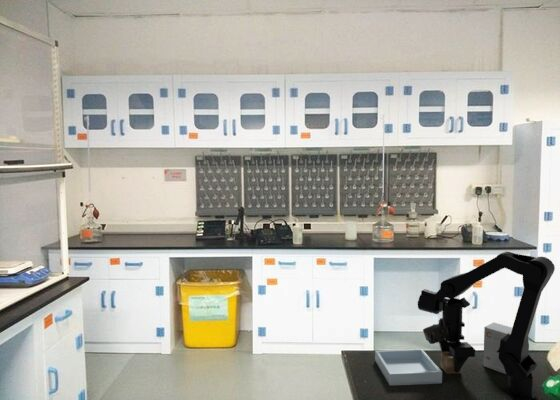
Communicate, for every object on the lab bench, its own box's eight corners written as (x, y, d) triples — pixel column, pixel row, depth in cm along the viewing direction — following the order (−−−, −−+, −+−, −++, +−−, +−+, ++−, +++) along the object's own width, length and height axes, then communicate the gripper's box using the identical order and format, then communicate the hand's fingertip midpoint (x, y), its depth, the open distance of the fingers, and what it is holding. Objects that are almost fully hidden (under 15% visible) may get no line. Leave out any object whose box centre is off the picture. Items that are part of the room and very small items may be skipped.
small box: (517, 369, 138) (519, 329, 136) (508, 375, 134) (510, 334, 132) (491, 360, 144) (493, 321, 143) (482, 366, 140) (483, 326, 139)
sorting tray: (441, 383, 130) (442, 372, 129) (389, 385, 129) (389, 374, 129) (421, 359, 145) (422, 348, 145) (375, 360, 144) (375, 350, 144)
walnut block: (460, 373, 136) (461, 357, 135) (446, 373, 136) (447, 358, 135) (454, 366, 140) (454, 351, 140) (440, 366, 140) (440, 351, 140)
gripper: (415, 308, 145) (414, 353, 147) (439, 330, 126) (437, 382, 128) (448, 307, 146) (447, 352, 147) (477, 329, 127) (475, 380, 129)
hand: (450, 366), depth 138 cm, fingers open, 8 cm apart
